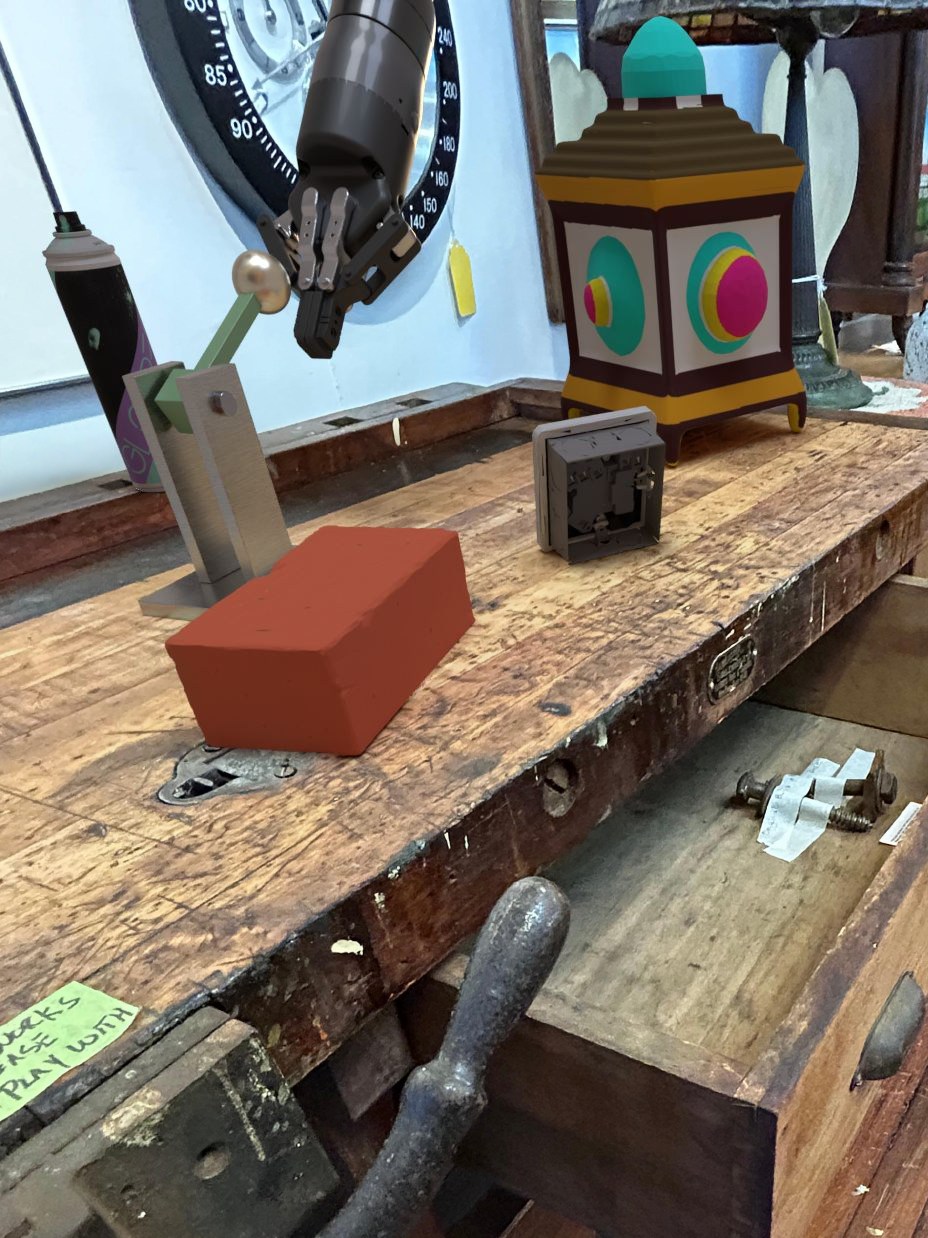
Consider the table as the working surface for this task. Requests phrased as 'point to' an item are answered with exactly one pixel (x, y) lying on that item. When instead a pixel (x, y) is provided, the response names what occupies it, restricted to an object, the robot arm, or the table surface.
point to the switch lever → (233, 323)
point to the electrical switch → (598, 483)
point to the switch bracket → (210, 486)
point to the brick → (325, 640)
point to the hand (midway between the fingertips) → (313, 351)
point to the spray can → (104, 333)
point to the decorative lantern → (675, 250)
